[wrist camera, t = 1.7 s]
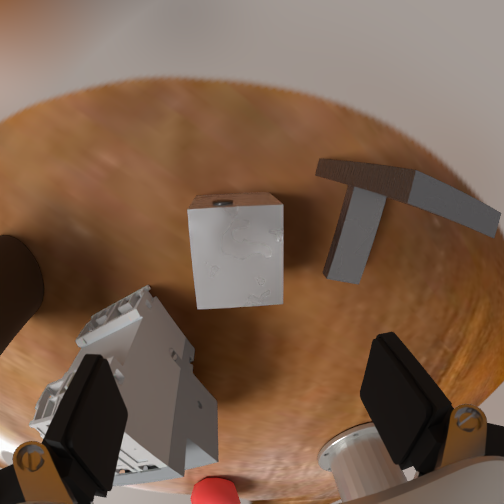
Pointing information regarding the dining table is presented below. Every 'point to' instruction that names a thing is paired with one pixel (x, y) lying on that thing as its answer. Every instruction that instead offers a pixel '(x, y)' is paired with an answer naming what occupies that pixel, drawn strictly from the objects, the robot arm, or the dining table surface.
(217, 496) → the apple
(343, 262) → the grey l-shaped bracket part
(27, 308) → the olive oil
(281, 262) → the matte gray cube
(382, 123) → the dining table surface
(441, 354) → the dining table surface
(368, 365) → the robot arm
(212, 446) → the circuit breaker
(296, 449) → the dining table surface
